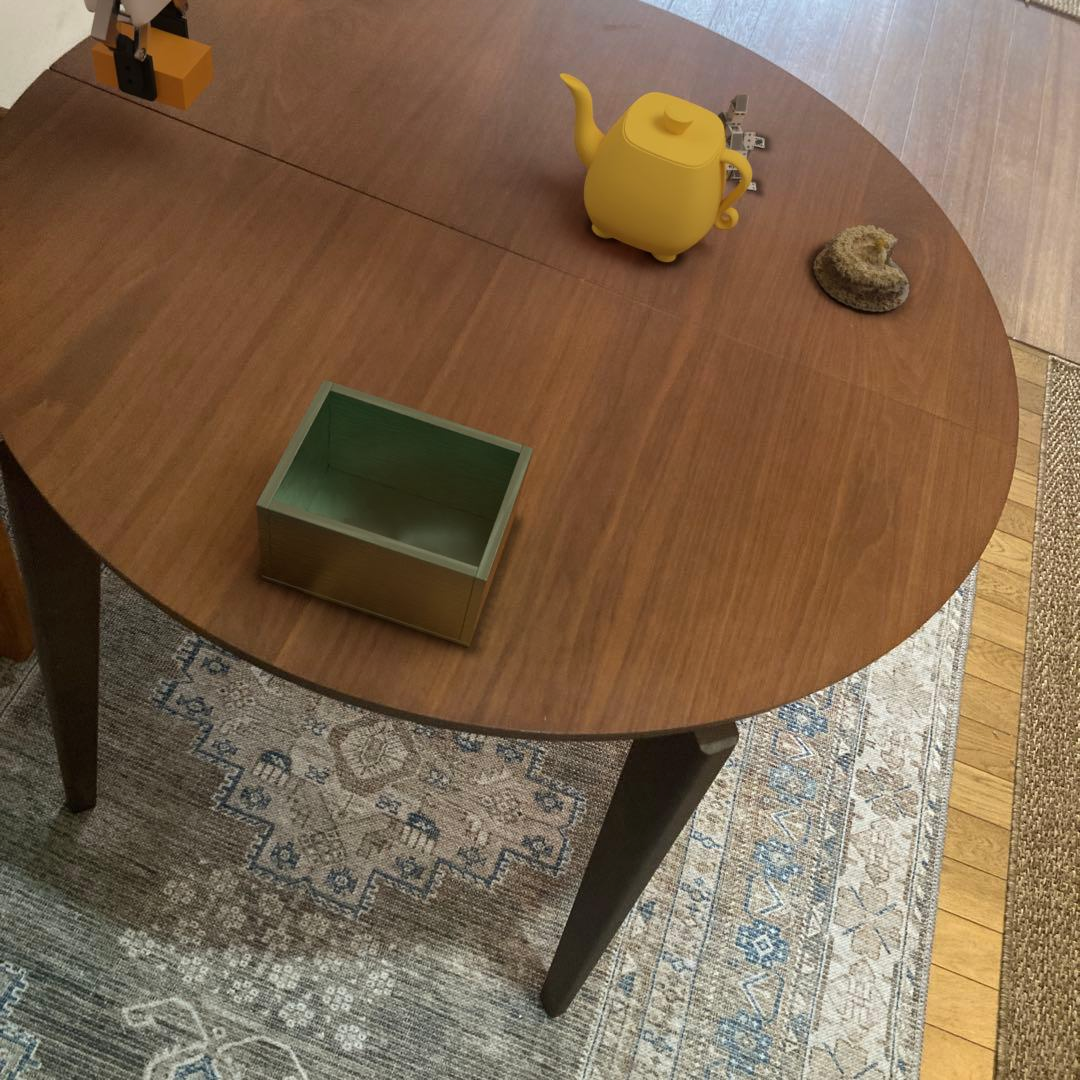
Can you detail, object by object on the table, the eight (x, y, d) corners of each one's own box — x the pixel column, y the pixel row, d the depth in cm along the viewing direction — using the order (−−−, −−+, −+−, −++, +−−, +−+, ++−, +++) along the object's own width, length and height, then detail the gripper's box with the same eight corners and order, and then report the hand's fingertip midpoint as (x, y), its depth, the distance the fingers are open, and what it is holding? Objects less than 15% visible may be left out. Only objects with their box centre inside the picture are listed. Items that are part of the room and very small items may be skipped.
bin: (261, 579, 74) (255, 504, 66) (322, 459, 81) (323, 378, 73) (468, 647, 74) (486, 580, 66) (512, 522, 81) (534, 448, 73)
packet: (96, 81, 89) (90, 49, 86) (128, 49, 92) (123, 17, 89) (185, 111, 89) (182, 79, 86) (213, 78, 92) (211, 46, 89)
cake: (823, 316, 101) (842, 274, 97) (801, 246, 107) (817, 203, 102) (920, 317, 103) (942, 275, 98) (893, 248, 108) (913, 205, 104)
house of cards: (790, 190, 110) (819, 128, 104) (715, 190, 108) (740, 127, 102) (762, 136, 115) (788, 73, 109) (690, 135, 113) (712, 71, 106)
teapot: (706, 297, 99) (752, 188, 88) (513, 220, 100) (536, 103, 89) (739, 214, 107) (786, 105, 96) (560, 143, 108) (587, 27, 97)
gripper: (134, -211, 80) (160, 15, 95) (12, -121, 70) (63, 115, 85) (226, -180, 80) (238, 41, 95) (117, -86, 70) (150, 144, 85)
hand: (155, 74), depth 90 cm, fingers closed on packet, 5 cm apart
